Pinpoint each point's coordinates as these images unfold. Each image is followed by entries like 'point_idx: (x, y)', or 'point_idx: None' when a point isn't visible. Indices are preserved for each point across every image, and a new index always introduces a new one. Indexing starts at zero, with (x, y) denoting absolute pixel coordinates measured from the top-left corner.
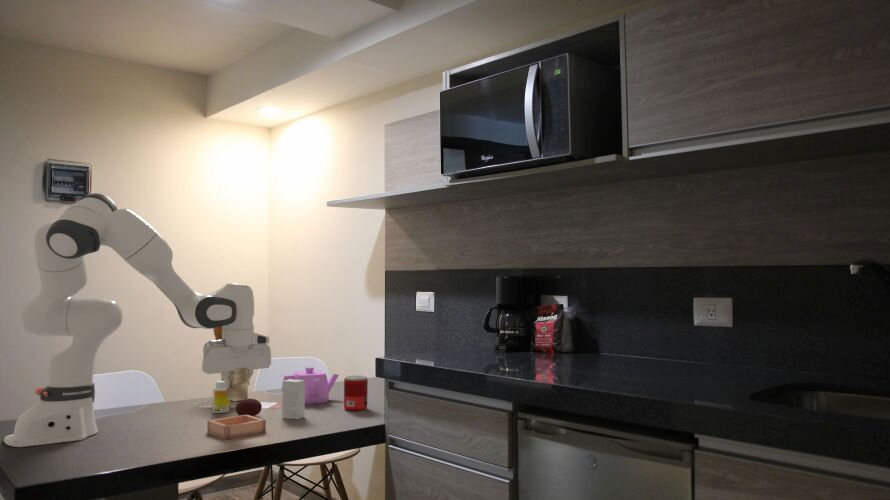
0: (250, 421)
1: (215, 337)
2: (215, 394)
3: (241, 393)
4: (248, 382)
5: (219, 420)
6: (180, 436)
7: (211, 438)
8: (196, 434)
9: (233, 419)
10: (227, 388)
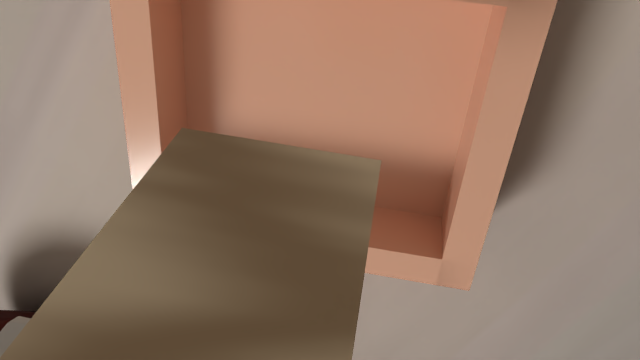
0: (173, 116)
1: None
2: None
3: (250, 198)
4: (6, 349)
5: (389, 246)
6: (636, 286)
7: (574, 78)
8: (536, 252)
9: None
10: None
